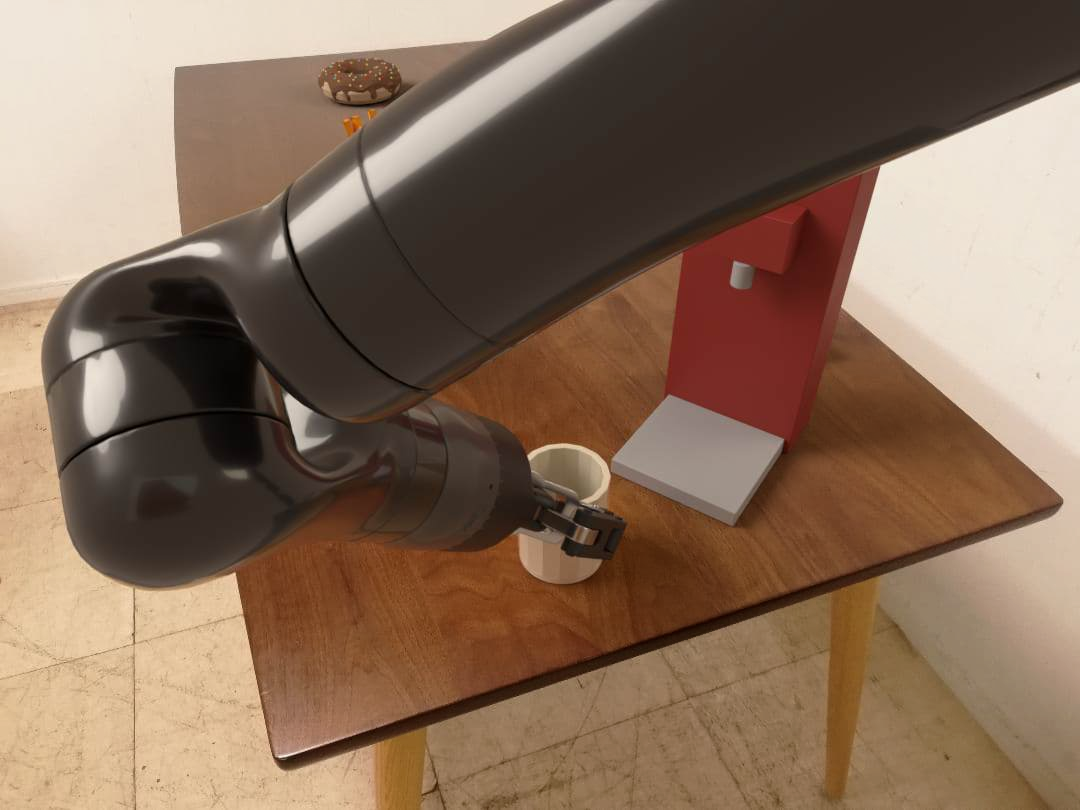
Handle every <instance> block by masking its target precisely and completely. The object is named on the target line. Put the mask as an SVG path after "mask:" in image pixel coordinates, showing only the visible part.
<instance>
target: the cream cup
mask: <svg viewBox="0 0 1080 810" xmlns="http://www.w3.org/2000/svg"><path fill="white" fill-rule="evenodd" d="M527 456H528V459H529V463H530V467H531V468H532V469H533V470H535V471H537V472H538V473H540V474H541V475H542V476H543V478H546V479H548V480H551V481H553V482H556V483H559V484H561V485H564V486H566V487H568V488H570V489H572V490H573V491H575V492H577V493H578V495H579V500H580V501H582V502H585V503H588V504H590V505H593V504H596V505H598V506H600V507H601V508H605V509H607V510H609V502H610V494H611V493H610V492H611V483H612V482H611V481H612V480H611V479H612V475H611V471H610V469H609V466H608V463H607V462H606V461H605V460H604V459H603V458H602V456H600V454H598V453H597V452H595V451H594V450H591V449H589V448H587V447H585V446H583V445H578V444H571V443H565V442H561V443H553V444H546V445H544V446H541V447H539V448H536V449H534V450H532V451H531V452H529V453H528V454H527ZM544 490H545V491H546V492H547V493H548V494H550V495H551V496H552V497H553V498H554V500H555V501H556V493H554V492H551V491H549V490H546V489H544ZM576 511H577V510H575V511H574V512H573V513H572V516H571V517H573V518H574V515H575V513H576ZM563 541H564V540H562V541H561V542H560V543H558V544H551V543H548V542H545V541H542V540H539V539H536V538H533V537H530V536H527V535H525V534H518V535H517V545H518V546H517V547H518V557H519V560H520V562H521V564H522V566H523V568H525V570H526V571H527V572H528V573H529V574H531V576H533V577H535V578H536V579H538V580H540V581H543V582H546V583H548V584H554V585H571V584H576V583H579V582H582V581H584V580H586V579H588V578H589V577H591V576H592V575H594V574H595V573H596V572H597V571H598V569H599V568H600V566H601V565H602V562H603V560H600V559H590V558H580V557H576V556H574V557H571V556H568V555H566V554H565V552H564V551H563V550H561V549H560V548H561V545H562V543H563Z"/></svg>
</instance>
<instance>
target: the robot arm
mask: <svg viewBox="0 0 1080 810" xmlns="http://www.w3.org/2000/svg"><path fill="white" fill-rule="evenodd" d="M1078 84H1080V0H561V1H559V2H557V3H555V4H553V5H551V6H548V7H545V8H544V9H543V10H540V11H538V12H536V13H534V14H532V15H530V16H528V17H526V18H524V19H522V20H520V21H518V22H516V23H514V24H512V25H511V26H509V27H507V28H505V29H503V30H501V31H500V32H497V33H496V34H493V35H492V36H491V37H489V38H487V39H485V40H484V41H482V42H480V43H478V44H476V45H475V46H473V47H472V48H470V49H468V50H466V51H465V52H463V53H462V54H460V55H458V56H457V57H455V58H453V59H451V60H450V61H449V62H447V63H446V64H445V65H443V66H441V67H440V68H438V69H437V70H435V71H434V72H432V73H431V74H429V75H428V76H426V77H425V78H423V79H422V80H420V81H419V82H418V83H416V84H415V85H414V86H412V87H411V88H410V89H408V90H407V91H405V92H404V93H403V94H402V95H400V96H399V97H397V98H396V99H394V100H393V101H391V103H389V104H388V105H387V106H386V107H384V108H385V109H383V108H382V110H380V111H379V112H377V113H378V114H377V113H376V116H374V117H373V118H372V119H370V120H369V119H368V120H369V121H367V122H366V123H365V124H364V125H362V127H361V128H360V129H359V130H357V131H356V132H355V133H354V134H352V135H351V136H350V137H349V138H346V139H345V140H344V141H342V142H341V143H340V144H339V145H337V146H336V147H335V148H334V149H333V150H331V151H330V152H329V153H327V154H326V155H325V156H323V158H321V159H320V160H319V161H318V162H316V163H315V164H314V165H312V166H311V167H310V168H309V169H308V170H307V171H305V172H304V173H303V174H302V175H300V176H299V177H298V178H297V179H295V180H293V181H292V183H290V184H289V185H288V186H287V187H285V188H284V189H283V190H282V191H281V192H279V194H277V195H276V196H275V197H274V198H273V199H271V200H270V201H268V202H265V203H264V204H262V205H259V206H257V207H254V208H252V209H249V210H247V211H244V212H241V213H239V214H236V215H234V216H231V217H228V218H226V219H222V220H220V221H217V222H215V223H212V224H210V225H206V226H204V227H202V228H200V229H197V230H195V231H192V232H190V233H188V234H185V235H183V236H179V237H178V238H175V239H173V240H169V241H167V242H164V243H162V244H159V245H157V246H154V247H150V248H148V249H146V250H143V251H139V252H137V253H134V254H131V255H129V256H125V257H123V258H120V259H117V260H115V261H112V262H109V263H107V264H106V265H103V266H101V267H98V268H96V269H94V270H92V271H91V272H89V273H88V274H87V275H84V277H82V278H80V279H79V280H78V281H77V283H76V284H74V285H73V286H72V287H71V288H70V289H69V290H68V291H67V292H66V294H65V295H64V296H63V298H62V299H61V300H60V302H59V304H58V305H57V307H56V308H55V310H54V312H53V313H52V315H51V317H50V319H49V321H48V323H47V326H46V328H45V331H44V333H43V338H42V342H41V351H40V366H41V367H40V368H41V375H42V376H41V377H42V383H43V388H44V395H45V400H46V404H47V405H46V406H47V412H48V418H49V425H50V431H51V432H50V433H51V439H52V445H53V450H54V458H55V464H56V470H57V478H58V479H59V482H58V483H59V490H60V491H59V492H60V496H61V503H62V510H63V514H64V516H63V517H64V520H65V521H64V522H65V524H66V525H65V526H66V531H67V533H68V536H69V539H70V541H71V543H72V546H73V548H74V549H75V551H76V552H77V554H78V556H79V557H80V558H81V559H82V560H83V561H84V562H85V563H86V565H88V566H89V567H90V568H92V569H93V570H94V571H96V572H97V573H98V574H100V575H102V576H103V577H104V578H106V579H108V580H110V581H113V582H114V583H117V584H119V585H121V586H124V587H128V588H132V589H135V590H139V591H144V592H157V593H158V592H172V591H181V590H186V589H192V588H195V587H197V586H202V585H204V584H207V583H211V582H214V581H216V580H220V579H223V578H225V577H227V576H230V575H232V574H235V573H237V572H239V571H242V570H244V569H246V568H249V567H251V566H254V565H255V564H257V563H260V562H262V561H264V560H267V559H269V558H271V557H274V556H276V555H278V554H280V553H283V552H287V551H289V550H293V549H296V548H299V547H303V546H308V545H313V544H318V543H323V542H325V543H326V542H339V543H359V544H374V545H378V546H380V547H385V548H389V549H393V550H401V551H418V552H420V551H421V552H447V553H476V552H481V551H484V550H487V549H490V548H493V547H494V546H496V545H498V544H500V543H501V542H502V541H504V540H506V539H507V538H508V537H510V536H518V534H525V535H527V536H530V537H533V538H536V539H539V540H542V541H545V542H548V543H551V544H558V543H560V542H561V541H562V540H564V541H563V543H562V545H561V548H560V549H561V550H563V551H564V552H565V554H566V555H568V556H571V557H574V556H576V557H580V558H590V559H600V560H602V561H613V558H614V556H615V554H616V551H617V549H618V547H619V545H620V542H621V539H622V537H623V535H624V533H625V531H626V528H627V526H628V523H629V522H627V521H625V520H624V518H623V517H621V516H619V515H616V514H615V512H614V511H612V510H610V509H608V510H607V509H605V508H601V507H600V506H598V505H596V504H593V505H590V504H588V503H585V502H582V501H580V500H579V495H578V493H577V492H575V491H573V490H572V489H570V488H568V487H566V486H564V485H561V484H559V483H556V482H553V481H551V480H548V479H546V478H543V476H542V475H541V474H540V473H538V472H537V471H535V470H533V469H532V468H531V467H530V463H529V459H528V456H527V455H528V454H527V451H526V449H525V448H524V445H523V443H521V442H520V440H519V438H518V437H517V436H516V435H515V433H513V432H512V431H511V430H510V429H509V428H507V427H506V426H505V425H503V424H502V423H499V422H498V421H495V420H494V419H491V418H488V417H486V416H482V415H481V414H477V413H474V412H472V411H470V410H466V409H464V408H461V407H458V406H455V405H454V404H450V403H447V402H444V401H441V400H439V399H436V398H433V397H434V396H435V395H437V394H438V393H440V392H442V391H443V390H445V389H447V388H448V387H450V386H451V385H453V384H455V383H457V382H459V381H460V380H462V379H463V378H466V377H467V376H468V375H471V374H472V373H473V372H475V371H477V370H479V369H480V368H482V367H484V366H486V365H487V364H489V363H490V362H492V361H494V360H496V359H497V358H499V357H500V356H502V355H504V354H506V353H507V352H508V351H510V350H512V349H514V348H516V347H517V346H519V345H521V344H523V343H525V342H527V341H528V340H530V339H531V338H533V337H535V336H536V335H538V334H539V333H542V332H543V331H545V330H546V329H548V328H550V327H551V326H553V325H555V324H556V323H558V322H560V321H562V320H563V319H564V318H567V317H568V316H569V315H571V314H573V313H574V312H577V311H578V310H579V309H582V308H584V307H585V306H588V304H590V303H592V302H594V301H595V300H597V299H600V298H601V297H602V296H604V295H606V294H608V293H610V292H612V291H613V290H615V289H617V288H619V287H621V286H622V285H624V284H626V283H628V282H629V281H631V280H633V279H635V278H637V277H639V276H641V275H642V274H643V275H644V274H645V273H647V272H649V271H651V270H652V269H654V268H656V267H658V266H660V265H661V264H663V263H665V262H667V261H669V260H671V259H673V258H675V257H676V256H679V255H681V254H683V252H685V251H687V250H689V249H691V248H693V247H695V246H698V245H700V244H702V243H704V242H706V241H708V240H710V239H712V238H714V237H716V236H719V235H721V234H723V233H725V232H727V231H729V230H731V229H733V228H736V227H738V226H740V225H743V224H745V223H747V222H750V221H752V220H754V219H756V218H759V217H761V216H763V215H766V214H768V213H770V212H773V211H775V210H777V209H779V208H782V207H784V206H786V205H789V204H791V203H793V202H796V201H798V200H800V199H803V198H805V197H807V196H810V195H812V194H814V193H817V192H819V191H821V190H824V189H826V188H828V187H831V186H833V185H835V184H838V183H840V182H842V181H845V180H847V179H850V178H852V177H855V176H857V175H859V174H862V173H864V172H867V171H869V170H872V169H874V168H877V167H879V166H881V167H882V166H884V165H886V164H888V163H891V162H893V161H896V160H898V159H900V158H903V157H906V156H908V155H910V154H913V153H916V152H918V151H920V150H923V149H925V148H928V147H929V146H932V145H935V144H936V143H939V142H942V141H944V140H947V139H949V138H951V137H953V136H956V135H959V134H961V133H963V132H966V131H968V130H970V129H973V128H975V127H978V126H980V125H982V124H985V123H988V122H989V121H992V120H993V119H997V118H999V117H1001V116H1004V115H1006V114H1008V113H1011V112H1013V111H1015V110H1017V109H1020V108H1023V107H1025V106H1027V105H1030V104H1032V103H1035V102H1037V101H1040V100H1042V99H1045V98H1047V97H1049V96H1051V95H1054V94H1056V93H1058V92H1061V91H1063V90H1065V89H1068V88H1071V87H1072V86H1076V85H1078ZM544 489H546V490H549V491H551V492H554V493H556V501H555V500H554V498H553V497H552V496H551V495H550V494H548V493H547V492H546V491H545V490H544ZM575 510H577V511H576V513H575V515H574V518H573V517H571V516H572V513H573V512H574V511H575Z"/></svg>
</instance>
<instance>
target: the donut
mask: <svg viewBox="0 0 1080 810" xmlns="http://www.w3.org/2000/svg"><path fill="white" fill-rule="evenodd" d="M402 81H403V78H402V76H401V72H400V69H399V68H398V66H396V65H395V64H393V62H389V61H385V60H384V59H383V58H381V59H379V58H378V57H377V58H375V57H371V58H363V57H360V58H348V59H342V60H339V61H335V62H331V64H330V65H328V66H326V67H325V68H323V69H322V72H321V73H320V74H319V75H318V79H317V84H318V86H319V88H320V90H321V92H323V94H324V95H325V96H326V97H327V98H329V99H330V100H331V101H333V102H336V103H339V104H344V105H368V104H375V103H379V102H383V101H386V100H388V99H391V98H392V97H394V96H395V95H396V93H397V92H399V91H400V89H401V87H402Z"/></svg>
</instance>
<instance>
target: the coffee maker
mask: <svg viewBox="0 0 1080 810" xmlns="http://www.w3.org/2000/svg"><path fill="white" fill-rule="evenodd" d="M881 167H882V165H881V166H879V167H877V168H874V169H872V170H869V171H867V172H864V173H862V174H859V175H857V176H855V177H852V178H850V179H847V180H845V181H842V182H840V183H838V184H835V185H833V186H831V187H828V188H826V189H824V190H821V191H819V192H817V193H814V194H812V195H810V196H807V197H805V198H803V199H800V200H798V201H796V202H793V203H791V204H789V205H786V206H784V207H782V208H779V209H777V210H775V211H773V212H770V213H768V214H766V215H763V216H761V217H759V218H756V219H754V220H752V221H750V222H747V223H745V224H743V225H740V226H738V227H736V228H733V229H731V230H729V231H727V232H725V233H723V234H721V235H719V236H716V237H714V238H712V239H710V240H708V241H706V242H704V243H702V244H700V245H698V246H695V247H693V248H691V249H689V250H687V251H685V252H683V253H682V257H681V264H680V272H679V279H678V287H677V294H676V303H675V310H674V317H673V323H672V324H673V326H672V332H671V339H670V347H669V356H668V362H667V369H666V370H667V371H666V378H665V385H664V394H663V400H662V401H661V403H660V404H659V405H658V406H657V407H656V408H655V410H654V411H653V412H652V413H651V414H650V415H649V417H648V418H646V419H645V421H644V422H643V423H642V424H641V425H640V427H638V429H636V431H635V432H634V433H633V435H631V437H630V438H629V439H628V440H627V441H626V442H625V443H624V444H623V445H622V447H620V449H619V450H618V451H617V452H616V453H615V455H614V456H613V457H612V458H611V463H610V473H612V474H614V475H617V476H619V477H621V478H622V479H626V480H628V481H630V482H632V483H634V484H637V485H639V486H641V487H643V488H646V489H648V490H649V491H652V492H654V493H657V494H658V495H661V496H663V497H666V498H668V499H669V500H672V501H673V502H674V501H675V502H677V503H679V504H681V505H684V506H686V507H688V508H690V509H692V510H694V511H696V512H699V513H701V514H703V515H706V516H708V517H710V518H712V519H714V520H717V521H719V522H721V523H723V524H726V525H727V526H730V527H734V526H735V525H736V523H737V521H738V520H739V518H740V516H741V515H742V513H743V512H744V510H745V509H746V507H747V506H748V504H749V503H750V501H751V500H752V498H753V497H754V495H755V493H756V492H757V490H758V489H759V487H761V485H762V483H763V481H764V480H765V478H766V477H767V475H768V473H769V472H770V470H771V469H772V467H773V466H774V465H775V463H776V461H777V460H778V458H780V456H781V454H782V453H784V454H789V453H790V451H791V449H792V448H793V446H794V444H795V443H796V441H797V440H798V438H799V437H800V435H801V434H802V432H803V431H804V429H805V427H806V426H807V424H808V423H809V422H810V419H811V415H812V412H813V408H814V405H815V401H816V399H817V394H818V390H819V387H820V383H821V379H822V376H823V372H824V369H825V365H826V362H827V358H828V356H829V352H830V349H831V344H832V340H833V336H834V333H835V330H836V326H837V324H838V323H837V322H838V319H839V315H840V312H841V309H842V305H843V301H844V298H845V295H846V291H847V288H848V284H849V280H850V277H851V273H852V270H853V266H854V262H855V259H856V255H857V252H858V248H859V245H860V241H861V238H862V233H863V231H864V227H865V223H866V220H867V216H868V214H869V213H868V212H869V208H870V205H871V202H872V199H873V195H874V191H875V188H876V184H877V180H878V178H879V173H880V169H881Z"/></svg>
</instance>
